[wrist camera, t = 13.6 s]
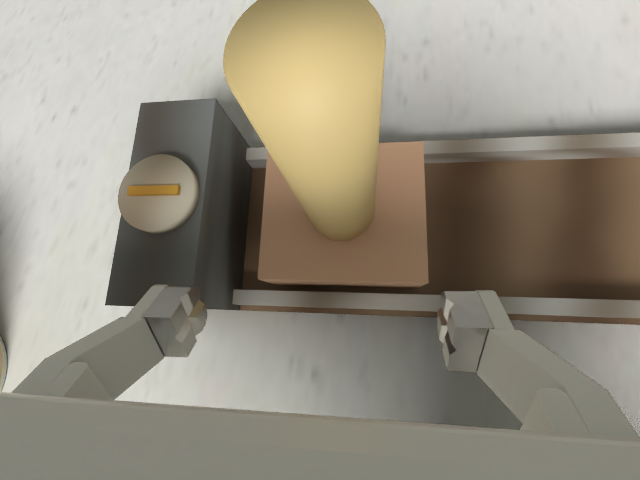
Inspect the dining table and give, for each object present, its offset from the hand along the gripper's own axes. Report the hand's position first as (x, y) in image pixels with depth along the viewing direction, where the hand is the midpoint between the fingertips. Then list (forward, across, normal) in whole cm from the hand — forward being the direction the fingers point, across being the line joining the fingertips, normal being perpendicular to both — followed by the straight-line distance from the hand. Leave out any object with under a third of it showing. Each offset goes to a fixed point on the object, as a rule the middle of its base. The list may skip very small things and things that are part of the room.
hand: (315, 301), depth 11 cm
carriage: (+8, -1, +2) cm, 9 cm away
